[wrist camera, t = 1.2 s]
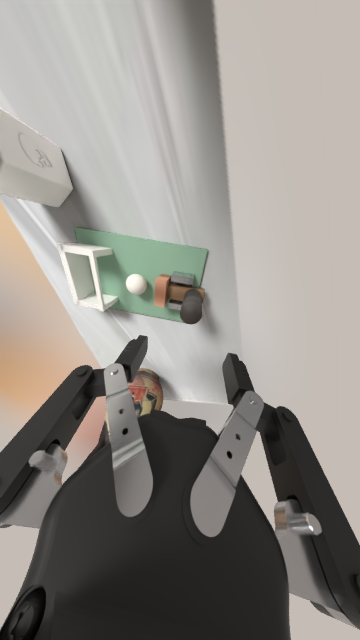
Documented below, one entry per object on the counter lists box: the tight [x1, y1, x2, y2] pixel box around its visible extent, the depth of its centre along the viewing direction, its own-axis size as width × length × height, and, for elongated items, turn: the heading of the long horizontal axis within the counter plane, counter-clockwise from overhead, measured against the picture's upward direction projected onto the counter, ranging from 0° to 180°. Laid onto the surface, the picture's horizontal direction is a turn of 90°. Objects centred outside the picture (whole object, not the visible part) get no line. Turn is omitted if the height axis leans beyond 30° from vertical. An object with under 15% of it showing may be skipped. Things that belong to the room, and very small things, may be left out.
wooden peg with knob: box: [154, 274, 205, 324], centre depth 24 cm, size 5×9×10 cm, turn 82°
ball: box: [126, 274, 147, 295], centre depth 27 cm, size 4×4×4 cm
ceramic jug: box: [78, 369, 163, 469], centre depth 34 cm, size 17×15×30 cm
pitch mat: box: [74, 227, 208, 322], centre depth 29 cm, size 16×25×1 cm, turn 82°
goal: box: [57, 243, 118, 312], centre depth 26 cm, size 11×6×6 cm, turn 172°
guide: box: [168, 271, 194, 310], centre depth 27 cm, size 7×4×3 cm, turn 172°
